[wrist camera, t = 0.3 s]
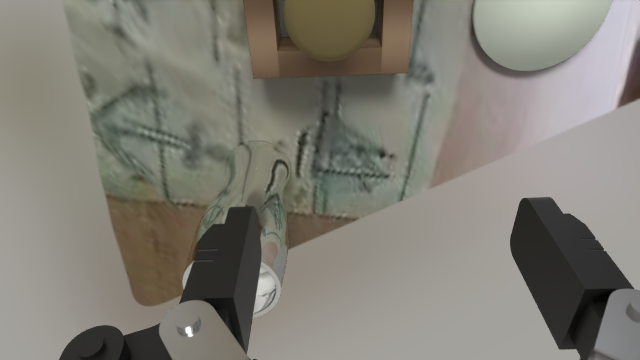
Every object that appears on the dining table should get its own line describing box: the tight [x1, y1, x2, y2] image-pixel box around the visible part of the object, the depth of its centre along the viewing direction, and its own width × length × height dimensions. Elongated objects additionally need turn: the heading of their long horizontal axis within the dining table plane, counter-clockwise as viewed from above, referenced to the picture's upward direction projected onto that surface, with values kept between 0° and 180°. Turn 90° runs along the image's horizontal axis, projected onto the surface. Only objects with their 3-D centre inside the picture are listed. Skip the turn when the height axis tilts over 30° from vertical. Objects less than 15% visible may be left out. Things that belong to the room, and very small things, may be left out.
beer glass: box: [183, 141, 291, 319], centre depth 36 cm, size 7×7×15 cm
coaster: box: [472, 0, 612, 71], centre depth 33 cm, size 10×10×1 cm
